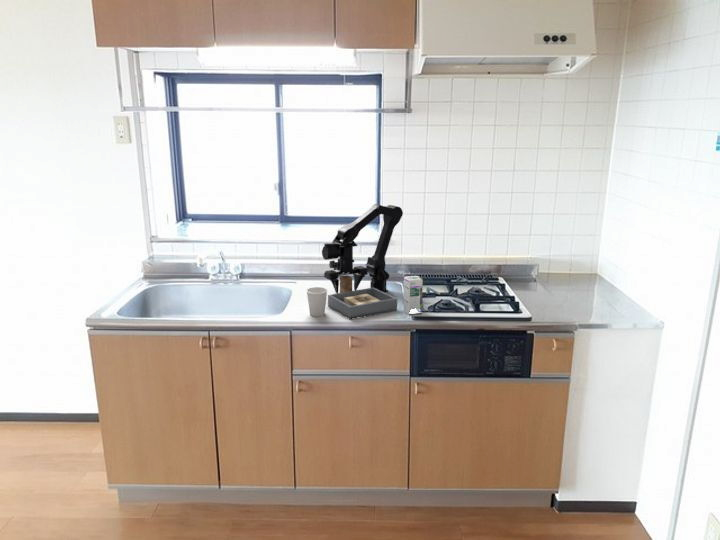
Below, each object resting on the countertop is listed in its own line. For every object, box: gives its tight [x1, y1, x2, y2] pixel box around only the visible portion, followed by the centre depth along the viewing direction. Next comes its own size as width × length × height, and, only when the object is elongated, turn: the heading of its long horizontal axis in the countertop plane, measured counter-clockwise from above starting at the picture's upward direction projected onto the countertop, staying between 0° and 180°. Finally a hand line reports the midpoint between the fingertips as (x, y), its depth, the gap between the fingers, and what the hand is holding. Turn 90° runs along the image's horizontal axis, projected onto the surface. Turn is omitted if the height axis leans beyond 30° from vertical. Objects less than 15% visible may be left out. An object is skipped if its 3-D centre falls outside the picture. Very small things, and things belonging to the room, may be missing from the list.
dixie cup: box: [305, 286, 328, 317], centre depth 211 cm, size 8×8×10 cm
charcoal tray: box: [327, 287, 398, 320], centre depth 218 cm, size 22×18×5 cm
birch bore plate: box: [344, 294, 381, 306], centre depth 218 cm, size 11×11×3 cm
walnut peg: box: [339, 275, 353, 293], centre depth 233 cm, size 4×4×9 cm
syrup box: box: [403, 275, 424, 315], centre depth 213 cm, size 6×6×14 cm
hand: (346, 291), depth 234 cm, fingers open, 9 cm apart
